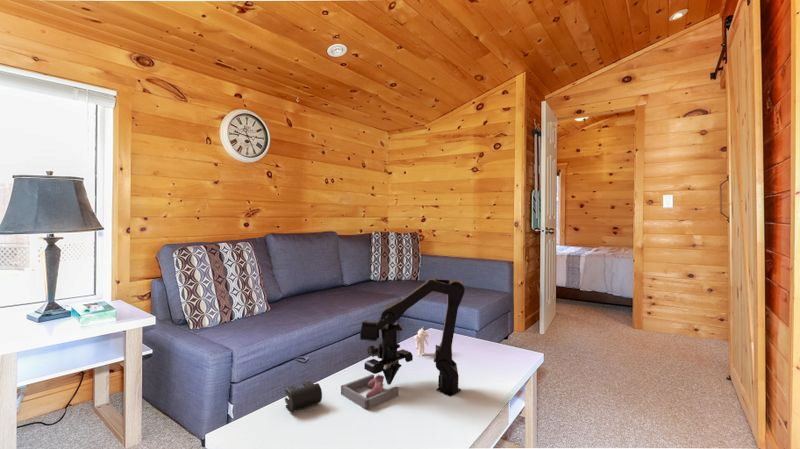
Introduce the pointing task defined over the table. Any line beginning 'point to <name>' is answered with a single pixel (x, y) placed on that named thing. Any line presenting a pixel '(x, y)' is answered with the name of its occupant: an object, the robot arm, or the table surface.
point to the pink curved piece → (375, 386)
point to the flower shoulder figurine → (421, 341)
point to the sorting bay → (365, 403)
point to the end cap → (303, 396)
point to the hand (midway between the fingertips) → (388, 384)
